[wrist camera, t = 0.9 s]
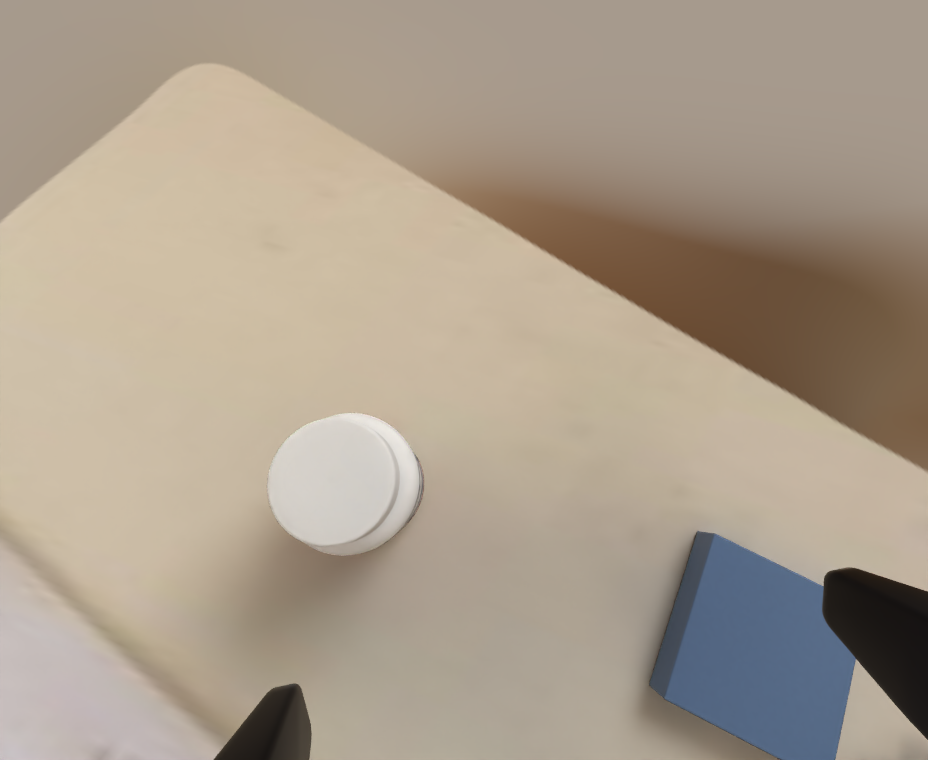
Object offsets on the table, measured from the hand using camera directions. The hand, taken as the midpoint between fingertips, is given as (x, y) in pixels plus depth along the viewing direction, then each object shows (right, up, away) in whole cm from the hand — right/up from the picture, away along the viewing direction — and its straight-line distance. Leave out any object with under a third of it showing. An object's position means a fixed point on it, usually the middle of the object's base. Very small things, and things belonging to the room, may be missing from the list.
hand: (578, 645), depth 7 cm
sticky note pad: (+12, -8, +14) cm, 20 cm away
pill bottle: (-7, -1, +15) cm, 16 cm away
